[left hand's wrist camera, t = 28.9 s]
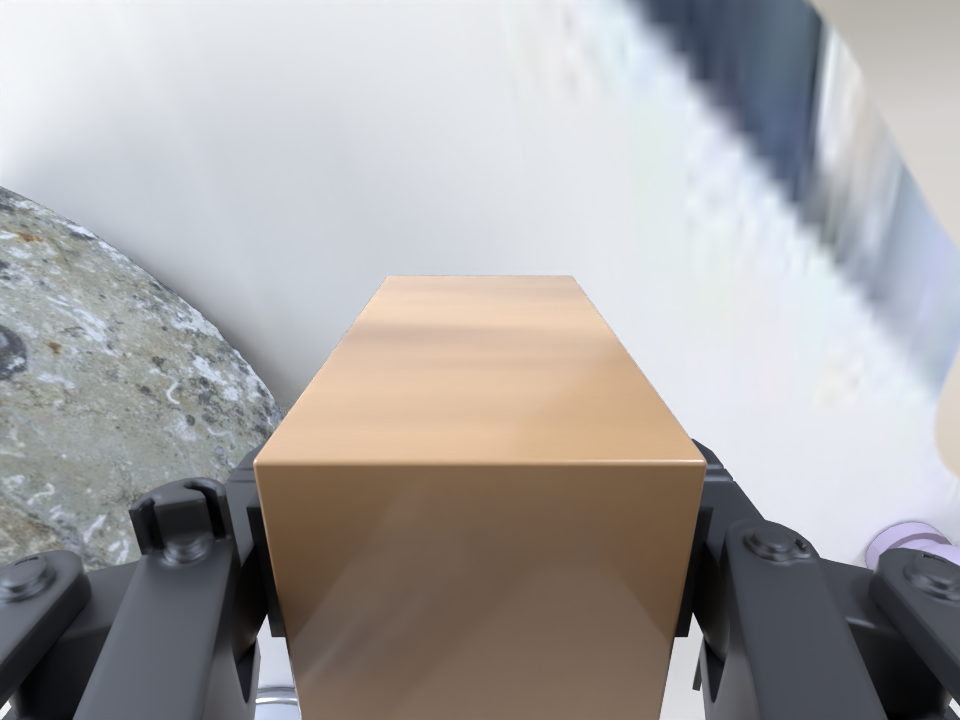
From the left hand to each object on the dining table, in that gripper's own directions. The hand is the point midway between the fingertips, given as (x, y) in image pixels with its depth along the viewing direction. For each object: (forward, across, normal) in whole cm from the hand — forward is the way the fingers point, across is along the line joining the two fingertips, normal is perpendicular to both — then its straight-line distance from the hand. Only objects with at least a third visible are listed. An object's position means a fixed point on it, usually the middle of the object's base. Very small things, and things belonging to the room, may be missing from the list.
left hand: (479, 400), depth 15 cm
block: (+3, 0, 0) cm, 3 cm away
